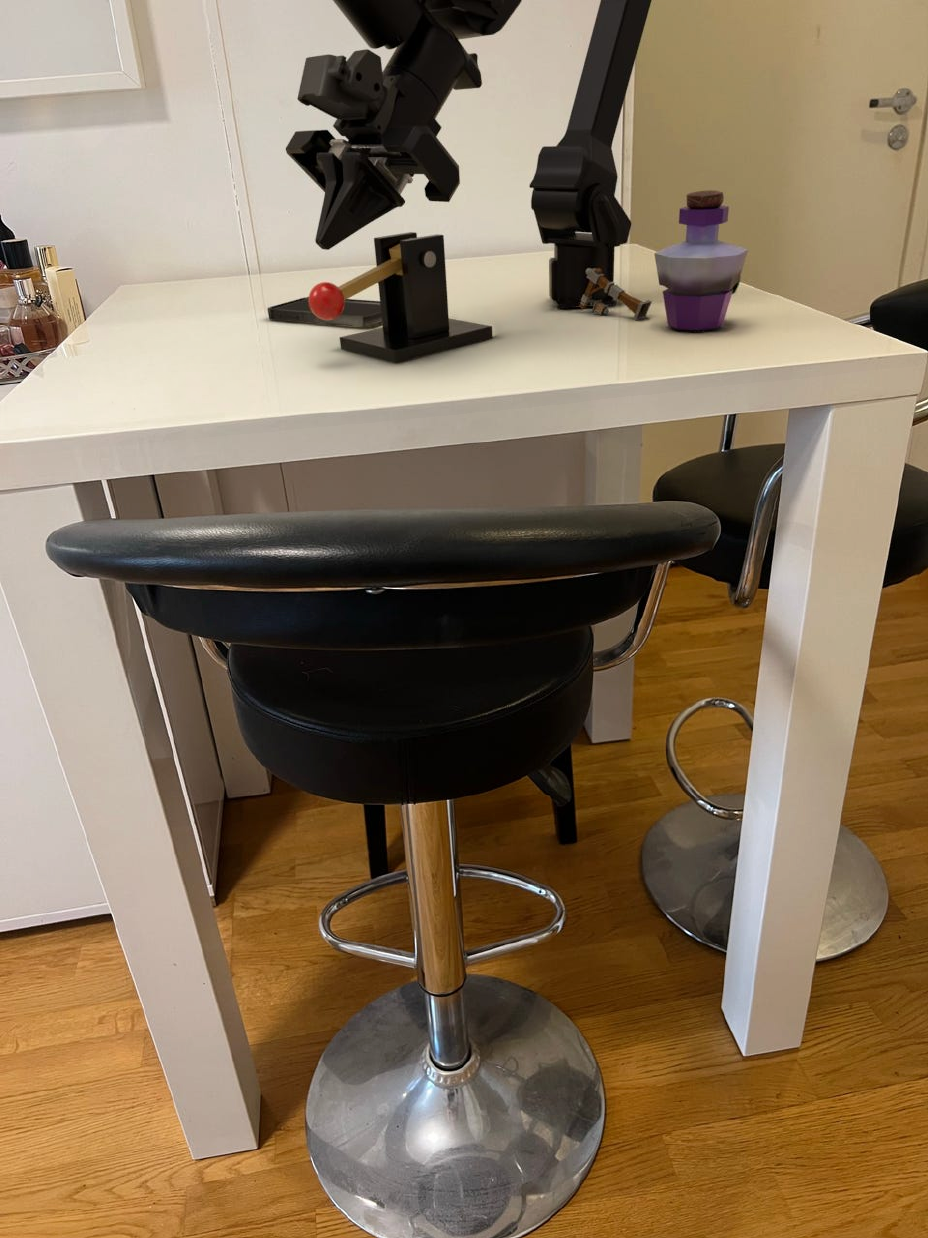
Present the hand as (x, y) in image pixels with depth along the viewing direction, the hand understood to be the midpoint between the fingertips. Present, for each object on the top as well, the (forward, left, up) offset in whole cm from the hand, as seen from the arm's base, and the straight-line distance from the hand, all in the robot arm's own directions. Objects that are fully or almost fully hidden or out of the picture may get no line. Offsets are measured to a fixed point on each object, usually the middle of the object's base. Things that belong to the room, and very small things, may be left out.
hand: (321, 246), depth 77 cm
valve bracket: (-7, -6, -10) cm, 14 cm away
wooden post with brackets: (-28, -14, -10) cm, 33 cm away
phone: (+2, -22, -10) cm, 24 cm away
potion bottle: (-35, -7, -10) cm, 37 cm away
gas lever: (-4, -3, -5) cm, 7 cm away
